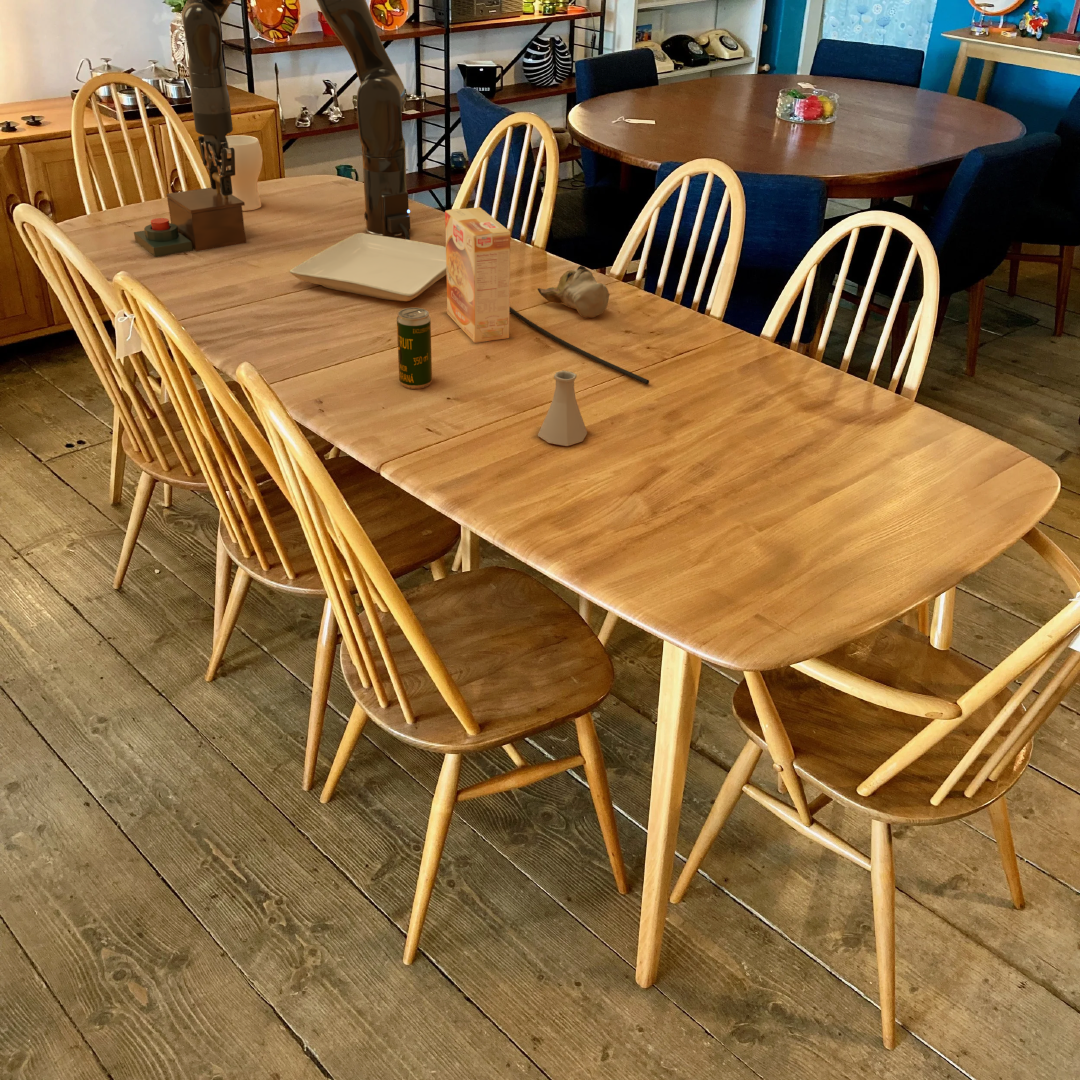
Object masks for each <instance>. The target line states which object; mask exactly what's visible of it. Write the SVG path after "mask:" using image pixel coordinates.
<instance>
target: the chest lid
mask: <svg viewBox="0 0 1080 1080" xmlns="http://www.w3.org/2000/svg"><path fill="white" fill-rule="evenodd" d="M212 178H213V180H215V183H216V189H213V188H211V187H206V188H197V189H191V190H183V191H178V192H177V191H176V192H171V193H166V198H167V197H168V198H169V199H171V200H172V201H174V202H175V203H177V204H178V205H179V206H181V207H182V208H184V209H185V210H187V211H188V212H190V213H191V214H192V213H199V212H205V211H211V210H218V209H224V208H231V207H237V206H244V205H245V203H244V202H243V201H242V200H240V199H238V198H237V197H235V196H233V195H227V196H224V195H222V193H221V188H220V178H219V173H218V172H214V173H213V174H212Z"/></svg>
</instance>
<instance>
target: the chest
mask: <svg viewBox="0 0 1080 1080" xmlns="http://www.w3.org/2000/svg"><path fill="white" fill-rule="evenodd" d="M166 199H167V206H168V212H169V221H170V223H172V224H175V225H177V227H178V232H179V233H180V234H182V235H183V236H184V237H186V238H187V239H189V240H190V241H191V243H192V250H194V251H196V252H200V251H206V250H207V251H208V250H213V249H218V248H225V247H229V246H234V245H235V246H236V245H241V244H246V243H247V240H246V232H245V223H244V214H243V213H244V212H243V211H242V206H237V207H231V208H224V209H218V210H211V211H205V212H199V213H192V214H191V213H190V212H188V211H187V210H185V209H184V208H182V207H181V206H179V205H178V204H177V203H175V202H174V201H172V200H171V199H169V198H168V197H167V196H166Z"/></svg>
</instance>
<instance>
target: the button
mask: <svg viewBox="0 0 1080 1080" xmlns="http://www.w3.org/2000/svg"><path fill="white" fill-rule="evenodd" d="M169 223H170V219H168V218H165V217H157V218H152V219H151V220H150V224H151V226H152V230H167V229H170V225H169Z"/></svg>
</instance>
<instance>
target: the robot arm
mask: <svg viewBox="0 0 1080 1080" xmlns="http://www.w3.org/2000/svg"><path fill="white" fill-rule="evenodd" d="M235 1H236V0H187V1H186V2H185V4H184V6H183V8H182V11H181V16H180V19H181V22H182V26H183V31H184V36H185V41H186V42H185V43H186V48H187V54H188V59H187V62H188V63H187V65H188V67H187V68H188V76H189V82H190V99H191V107H192V114H193V123H194V129H195V132H196V133H197V134H199V136H198V137H197V140H198V145H199V150H200V154H201V160H202V164H203V166H204V167H206V170H207V171H208V174H209V175H208V176H209V183H210V188H213V189H216V183H215V180H213V178H212V174H213V173H214V172H218V173H219V178H220V188H221V193H222V195H224V196H227V195H232V193H233V192H232V183H231V176H234V175H235V150H234V148H229V145H228V142H227V139H226V136H228V135H229V134H231V133H232V132H233V130H234V128H233V127H234V126H233V120H232V119H233V118H232V110H231V102H230V101H231V100H230V95H229V91H228V86H227V77H226V70H225V64H224V60H223V44H222V43H223V42H222V30H221V29H222V28H221V20H222V18H223V17H224V16H225V13H226V12H227V10H228V9H229V7H230V5H231V4H232V3H233V2H235ZM316 3H317V5H318V7H319V9H320V12H321V13H322V15H323V18H324V19H325V21H326V23H327V24H328V25H329V27H330V28H331V30H332V32H333V33H334V35H335V37H337V38H338V40H339V41H340V42H341V45H343V47H344V48H345V50H346V51H347V54H348V55H349V57H350V59H351V61H352V64H353V66H354V69H355V72H356V74H357V77H358V80H359V83H360V85H359V86H358V89H357V93H356V113H357V126H358V137H359V141H360V145H361V155H362V175H363V192H364V193H363V194H364V209H365V211H364V217H363V218H364V220H365V234H371V235H378V236H386V237H393V238H401V237H405V239H406V240H411V239H410V234H411V233H410V230H411V216H410V213H411V210H410V209H409V208H410V206H409V193H408V188H407V187H408V186H407V161H406V160H407V159H406V157H407V156H406V141H405V139H404V138H405V137H404V134H403V117H402V108H403V106H404V105H405V102H406V89H405V85H404V83H403V81H402V79H401V76H400V74H399V73H398V71H397V70H396V68H395V66H394V64H393V62H392V60H391V58H390V57H389V55H388V53H387V51H386V49H385V46H384V45H383V42H382V41H381V38H380V35H379V32H378V30H377V27H376V24H375V21H374V17H373V16H372V13H371V10H370V8H369V4H368V3H367V0H316ZM220 161H222V162H220ZM221 166H222V168H221ZM230 166H231V167H230ZM226 168H227V170H226ZM509 314H511V315H513V316H514V317H516V318H517V319H518V320H520V321H521V322H523V323H524V324H526V325H528V326H529V327H530V328H532V329H533V330H535V331H537V332H538V333H539V334H542V335H544V336H545V337H547V338H548V339H550V340H552V341H554V342H556V343H558V344H560V345H562V346H563V347H565V348H567V349H570V350H571V351H573V352H574V353H577V354H579V355H581V356H582V357H585V358H587V359H589V360H591V361H593V362H595V363H598V364H601V365H602V366H604V367H606V368H608V369H611V370H613V371H615V372H618V373H619V374H622V375H624V376H626V377H629V378H631V379H633V380H635V381H636V382H640V383H641V384H644V385H646V386H647V385H649V383H650V380H649V379H647V378H645V377H643V376H640V375H638V374H636V373H634V372H631V371H629V370H627V369H624V368H622V367H620V366H618V365H615V364H613V363H611V362H609V361H607V360H604V359H602V358H600V357H598V356H596V355H594V354H592V353H589V352H587V351H586V350H583V349H582V348H579V347H577V346H576V345H573V344H571V343H569V342H567V341H566V340H564V339H562V338H560V337H558V336H556V335H554V334H553V333H551V332H549V331H548V330H546V329H544V328H543V327H540V326H539V325H537V323H534V322H533V321H531V320H530V319H528V318H526V317H525V316H524V315H522V314H521V313H519V312H518V311H517V310H515V309H513V307H511V306H510V307H509Z"/></svg>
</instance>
